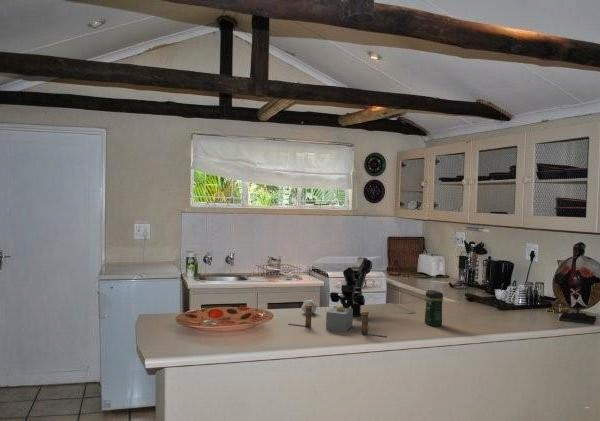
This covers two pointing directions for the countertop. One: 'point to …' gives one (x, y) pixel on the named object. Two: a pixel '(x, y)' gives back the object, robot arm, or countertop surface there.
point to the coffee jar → (433, 308)
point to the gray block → (339, 319)
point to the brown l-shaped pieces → (364, 321)
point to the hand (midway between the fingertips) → (343, 311)
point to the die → (309, 302)
